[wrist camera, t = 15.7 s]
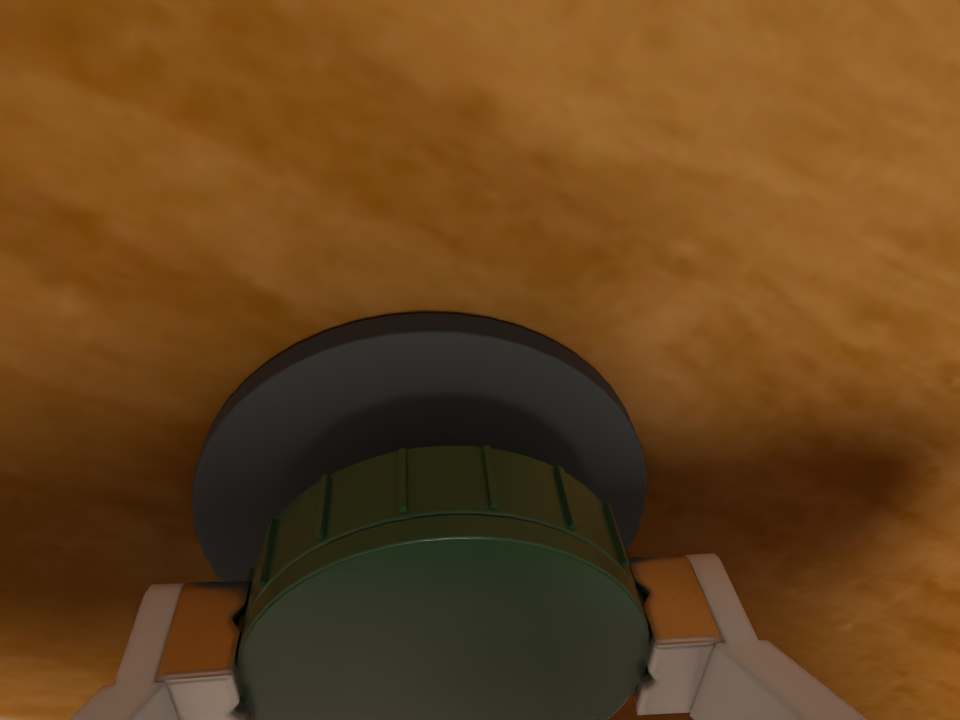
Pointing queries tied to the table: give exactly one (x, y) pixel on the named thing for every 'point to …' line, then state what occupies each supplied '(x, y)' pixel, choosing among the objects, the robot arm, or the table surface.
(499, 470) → the lid
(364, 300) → the table surface
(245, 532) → the coaster
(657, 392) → the table surface
